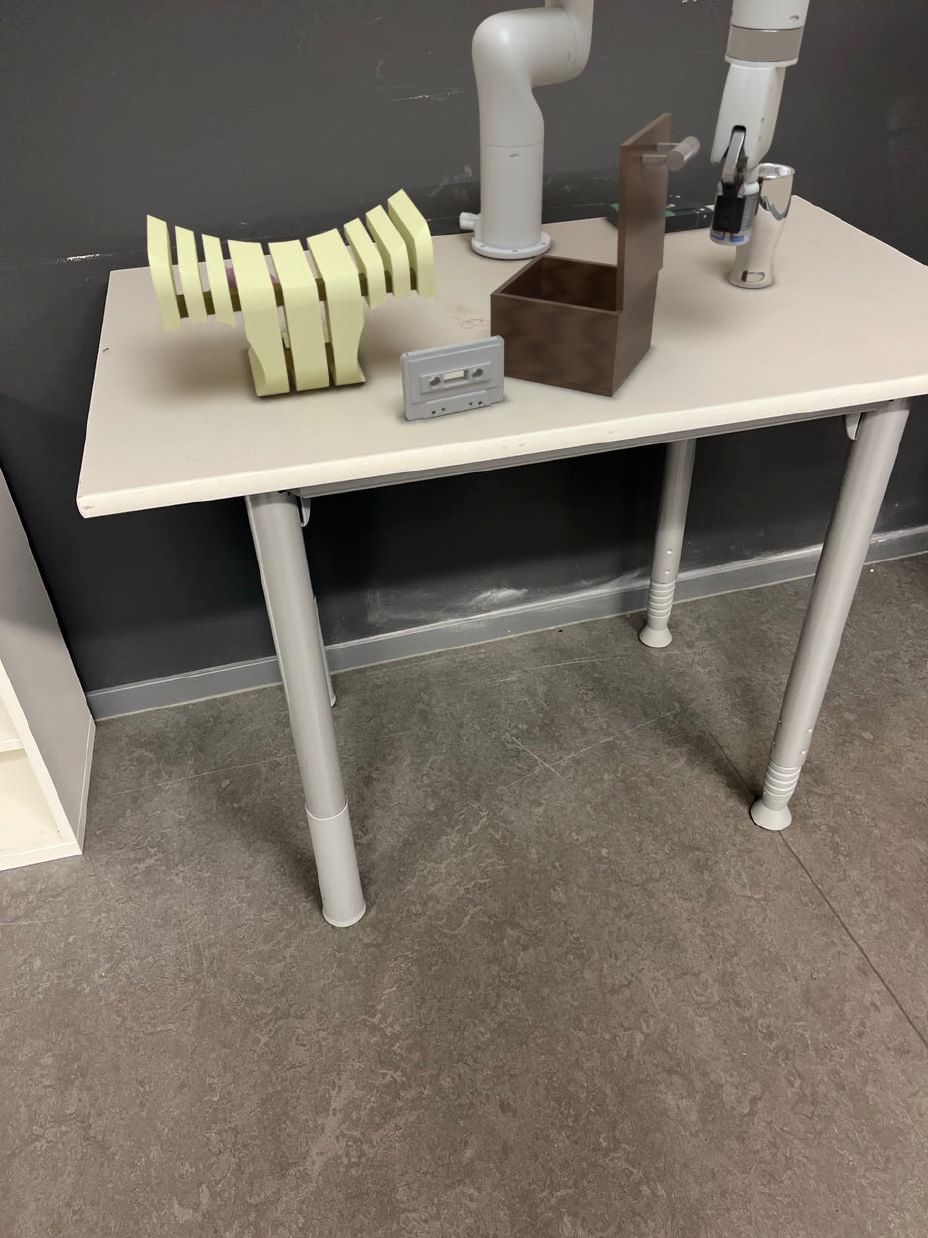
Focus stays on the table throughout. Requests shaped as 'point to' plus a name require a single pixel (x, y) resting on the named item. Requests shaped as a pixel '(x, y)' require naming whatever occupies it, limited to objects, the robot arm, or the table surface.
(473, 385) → the cassette
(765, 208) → the beer glass
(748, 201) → the pill bottle
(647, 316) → the chest
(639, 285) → the lid
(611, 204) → the disk drive
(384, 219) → the slatted curved stool
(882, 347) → the table surface
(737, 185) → the robot arm
